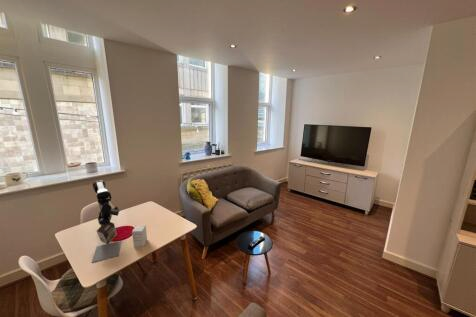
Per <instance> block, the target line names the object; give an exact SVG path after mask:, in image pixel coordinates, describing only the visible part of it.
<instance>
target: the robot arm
mask: <svg viewBox="0 0 476 317" xmlns="http://www.w3.org/2000/svg"><path fill="white" fill-rule="evenodd" d="M92 190H93V191H94V193H95V195H96V199H97V204H98V207H99V211H98V214H97V222H98V224H99V226H100V227H101V226H102V224H107V223H110V222H111V220H112V217H113V216H115V217H116V216H119V214H120V208H119V207H118V206H114V207H113V208H112V205H111V203H110V202H111V201H112V195H111V192H110V191H109V190H108V189H107V188H106V181H104V180H96V181H95V182H93V183H92Z"/></svg>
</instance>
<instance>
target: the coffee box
mask: <svg viewBox="0 0 476 317" xmlns="http://www.w3.org/2000/svg"><path fill="white" fill-rule="evenodd" d="M96 233H97V236H98V237H99V240H100V243H101V242H102V243H103V244H110V243H112V241H113V239H114V238H115V237H116V236H117V235H118V233H117V229H116V226H115V223H114V222H111V221H110V223H107V224H102V226H101V225H100V227H99V228H98V229H97V230H96Z"/></svg>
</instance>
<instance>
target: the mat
mask: <svg viewBox="0 0 476 317" xmlns="http://www.w3.org/2000/svg"><path fill="white" fill-rule="evenodd" d="M121 242H122V241H121V240H118V241H114V242H110V243H109V244H106V243H104V244H101V245H97V246H96V248H95V251H94V254H93V256H92V260H91V263H92V264H93V263H98V262H100V261H105V260H108V259H112V258H115V257H119V255H120V250H121V244H122V243H121Z"/></svg>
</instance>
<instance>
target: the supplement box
mask: <svg viewBox="0 0 476 317" xmlns="http://www.w3.org/2000/svg"><path fill="white" fill-rule="evenodd" d="M131 235H132V243H133V247H144V246H145V244H146V243H147V241H148V234H147V226H146V225H136V226H135V227H134V228H133V229H132V231H131Z"/></svg>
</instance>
